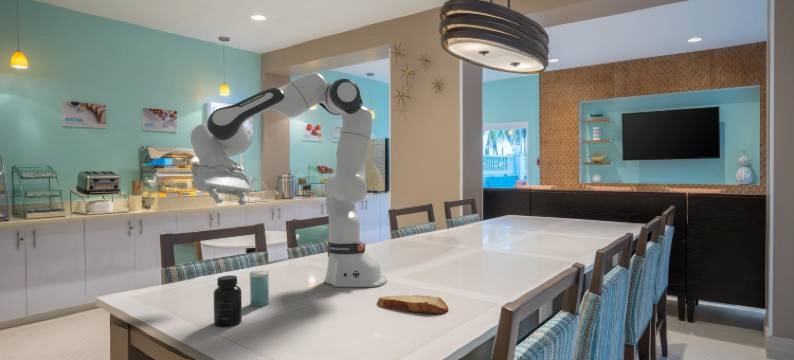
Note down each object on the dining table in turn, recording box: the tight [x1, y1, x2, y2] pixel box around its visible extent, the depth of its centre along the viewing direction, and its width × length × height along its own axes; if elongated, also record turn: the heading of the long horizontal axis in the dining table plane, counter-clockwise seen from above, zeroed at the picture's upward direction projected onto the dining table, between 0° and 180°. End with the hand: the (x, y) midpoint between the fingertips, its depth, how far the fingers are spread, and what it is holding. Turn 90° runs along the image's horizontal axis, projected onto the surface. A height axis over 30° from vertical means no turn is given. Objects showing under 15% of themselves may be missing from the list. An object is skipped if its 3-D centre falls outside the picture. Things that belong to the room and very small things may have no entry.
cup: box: [249, 270, 270, 308], centre depth 135 cm, size 5×5×10 cm
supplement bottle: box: [213, 275, 243, 328], centre depth 118 cm, size 7×7×12 cm
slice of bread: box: [376, 294, 449, 315], centre depth 132 cm, size 18×18×4 cm
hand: (231, 203), depth 141 cm, fingers open, 8 cm apart
